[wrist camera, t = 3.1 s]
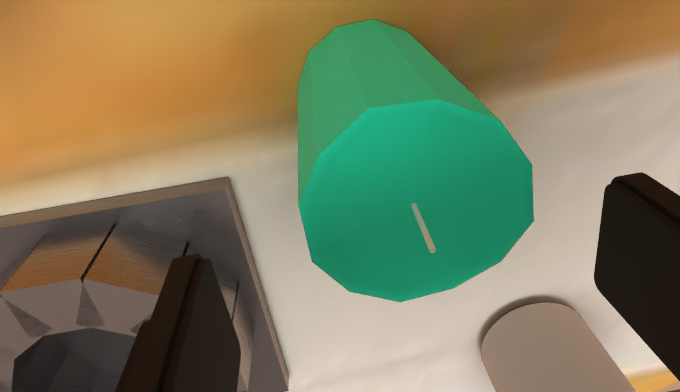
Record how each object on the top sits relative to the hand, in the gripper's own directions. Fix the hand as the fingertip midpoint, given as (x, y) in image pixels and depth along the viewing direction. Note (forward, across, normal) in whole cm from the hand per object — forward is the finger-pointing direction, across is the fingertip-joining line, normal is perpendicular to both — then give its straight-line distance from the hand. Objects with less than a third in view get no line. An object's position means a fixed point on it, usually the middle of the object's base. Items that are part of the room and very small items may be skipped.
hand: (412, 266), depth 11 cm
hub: (+12, +13, +9) cm, 20 cm away
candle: (+12, -1, -1) cm, 12 cm away
